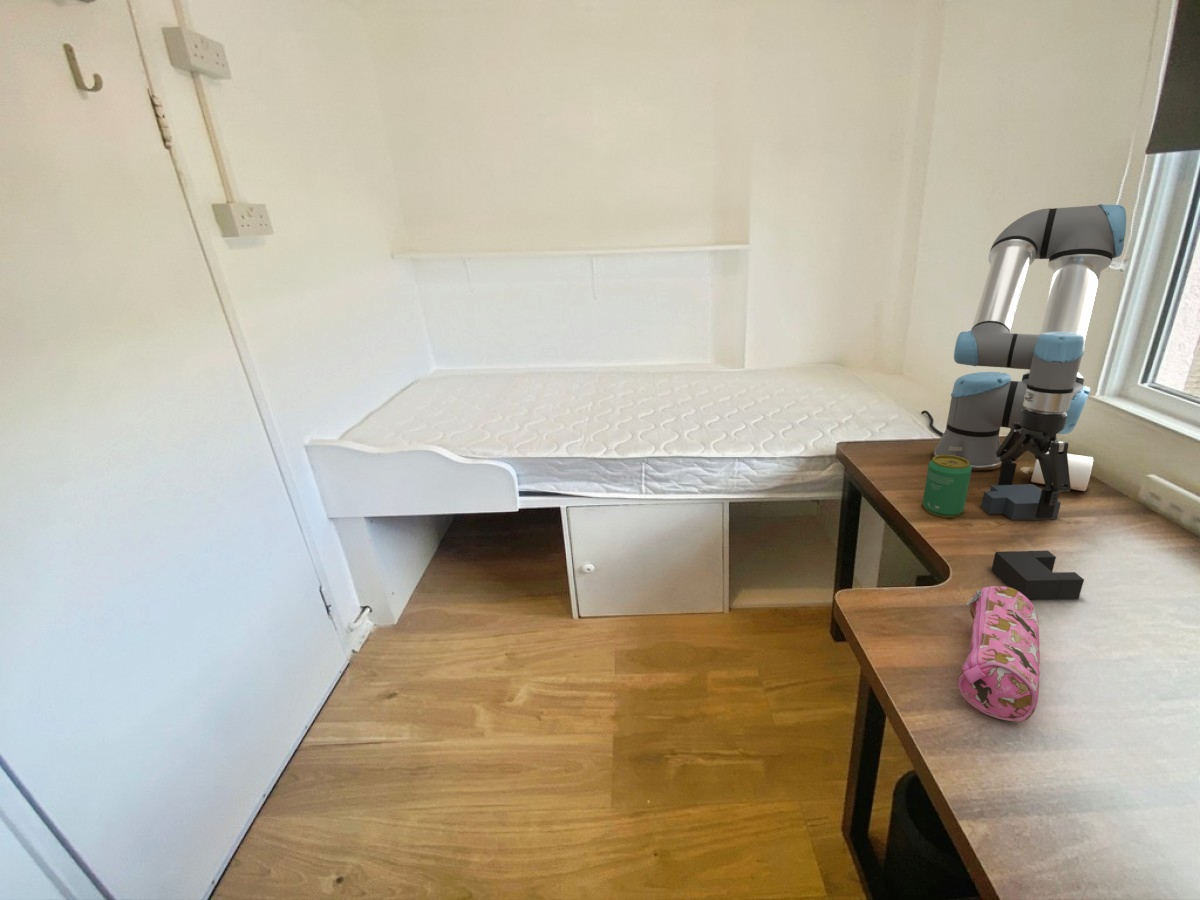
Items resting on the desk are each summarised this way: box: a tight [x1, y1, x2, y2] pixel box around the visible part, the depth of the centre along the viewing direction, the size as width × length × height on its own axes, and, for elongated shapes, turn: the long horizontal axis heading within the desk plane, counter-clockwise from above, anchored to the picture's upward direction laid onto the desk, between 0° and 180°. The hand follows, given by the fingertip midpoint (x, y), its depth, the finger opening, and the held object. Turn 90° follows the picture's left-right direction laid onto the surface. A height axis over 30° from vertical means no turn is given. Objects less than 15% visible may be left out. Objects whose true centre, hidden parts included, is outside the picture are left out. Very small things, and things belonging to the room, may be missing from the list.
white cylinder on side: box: [1030, 451, 1094, 492], centre depth 130 cm, size 12×10×8 cm
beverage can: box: [922, 455, 973, 518], centre depth 122 cm, size 8×8×12 cm
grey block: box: [980, 483, 1062, 521], centre depth 121 cm, size 9×12×4 cm
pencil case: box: [956, 585, 1041, 723], centre depth 79 cm, size 21×9×9 cm, turn 145°
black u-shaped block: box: [991, 550, 1085, 601], centre depth 97 cm, size 9×9×4 cm
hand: (1022, 502), depth 120 cm, fingers open, 13 cm apart
